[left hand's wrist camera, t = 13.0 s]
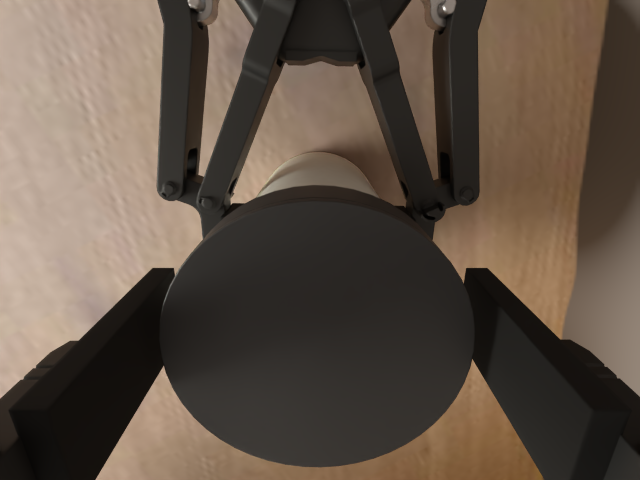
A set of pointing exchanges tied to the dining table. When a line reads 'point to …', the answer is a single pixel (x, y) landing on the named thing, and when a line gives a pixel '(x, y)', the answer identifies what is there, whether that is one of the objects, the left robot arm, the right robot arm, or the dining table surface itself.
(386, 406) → the lid
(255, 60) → the right robot arm
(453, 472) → the dining table surface
